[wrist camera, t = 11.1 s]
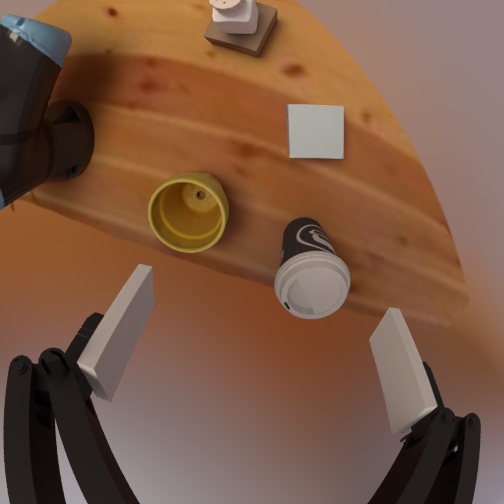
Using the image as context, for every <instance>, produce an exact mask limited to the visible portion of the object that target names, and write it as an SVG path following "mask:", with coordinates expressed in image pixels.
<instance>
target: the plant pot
mask: <svg viewBox="0 0 504 504" xmlns="http://www.w3.org/2000/svg"><path fill="white" fill-rule="evenodd" d="M199 191H201V192H204V193H205V197H204V198H199V197H198V192H199ZM228 215H229V205H228V200H227V197H226V195H225V193H224V191H223V188H222V185H221V183H220V182H219V180H218V179H217V178H216V177H214V176H213V175H211V174H209V173H206V172H197V173H195V172H184V173H180V174H177V175H174V176H172V177H171V178H169V179H168V180H166V181H165V182H164V183H163V184H161V185H160V186H159V187H158V188H157V189H156V191H155V192H154V193H153V195H152V197H151V199H150V202H149V206H148V219H149V223H150V225H151V228H152V230H153V231H154V233H155V234H156V236H157V237H158V238H159V239H160V240H161V241H162V242H163V243H164V244H166V245H167V246H169V247H170V248H172V249H174V250H177V251H180V252H186V253H195V252H201V251H204V250H206V249H208V248H210V247H212V246H213V245H214V244H215V243H217V242H218V240H219V239H220V238H221V236H222V234H223V232H224V230H225V227H226V224H227V220H228Z"/></svg>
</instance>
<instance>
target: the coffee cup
mask: <svg viewBox="0 0 504 504" xmlns="http://www.w3.org/2000/svg"><path fill="white" fill-rule="evenodd" d="M349 288H350V272H349V269H348V267H347V265H346V264H345V263H344V262H343V261H342V260H341V259H340V258H339V257H338V256H337V255H336V253H335V251H334V249H333V247H332V246H331V244H330V242H329V240H328V238H327V237H326V235H325V233H324V231H323V229H322V228H321V226H320V225H319V223H318V222H316V221H315V220H313V219H310V218H298V219H295V220H293V221H292V222H290V223H289V224H288V226H287V227H286V229H285V231H284V237H283V246H282V255H281V263H280V269H279V270H278V272H277V274H276V277H275V280H274V289H275V293H276V295H277V298H278V300H279V301H280V303H281V304H282V305H283V306H284V307H285V308H286V309H287V311H289V312H290V313H291V314H293V315H294V316H297V317H299V318H304V319H318V318H322V317H325V316H328V315H330V314H332V313H333V312H335V311H336V310H338V309H339V308H340V307H341V305H342V304H343V303H344V301H345V299H346V296H347V294H348V291H349Z"/></svg>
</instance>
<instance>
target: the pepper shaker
mask: <svg viewBox="0 0 504 504" xmlns="http://www.w3.org/2000/svg"><path fill="white" fill-rule="evenodd" d="M209 2H210V4H211V5H212V6H213V16H212V18H213V21H214V22H215V23H216V24H217V25H218V26H219V27H220V28H221V29H222V30H223V31H224V32H225V33H236V34H253V33H255V32H256V29H257V21H258V9H257V6H256V3H255V0H209Z"/></svg>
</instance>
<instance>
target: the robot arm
mask: <svg viewBox="0 0 504 504" xmlns="http://www.w3.org/2000/svg"><path fill="white" fill-rule="evenodd" d="M71 43H72V37H71V35H70V33H69V32H67V31H65V30H63V29H60V28H58V27H55V26H52V25H49V24H46V23H42V22H39V21H35V20H32V19H27V18H23V17H19V16H16V15H10V14H7V15H5V16H4V17H3V19H2V20H0V210H2V209H3V208H4V207H5V206H7V205H8V204H10V203H11V202H13V201H14V200H16V199H18V198H19V197H21V196H22V195H24V194H25V193H27V192H29V191H30V190H32V189H34V188H35V187H37V186H39V185H40V184H42V183H51V182H64V181H67V180H70V179H72V178H74V177H75V176H77V175H79V174H80V173H81V172H82V171H83V170H84V169H85V168H86V166H87V164H88V162H89V160H90V158H91V155H92V151H93V145H94V132H93V126H92V122H91V119H90V117H89V115H88V113H87V111H86V110H85V109H84V108H83V107H82V106H81V105H80V104H79V103H77V102H75V101H71V100H64V101H58V102H54V103H52V104H50V105H48V102H49V99H50V96H51V94H52V91H53V88H54V85H55V83H56V80H57V78H58V75H59V73H60V71H61V68H63V66H64V64H63V63H64V60H65V58H66V55H67V53H68V51H69V48H70V46H71ZM47 105H48V106H47ZM153 287H154V286H153V270H152V267H151V266H147V265H142V264H139V265H138V266H137V268H136V269H135V271H134V272H133V274H132V275H131V276H130V278H129V279H128V281H127V282H126V284H125V285H124V287H123V288H122V290H121V291H120V293H119V294H118V296H117V297H116V299H115V300H114V302H113V303H112V305H111V306H110V308H109V309H108V311H107V313H106V314H105V315H102V314H99V313H96V312H95V313H94V314H92V315H91V316H89V317H88V318H87V319H86V321H85V322H84V324H83V325H82V328H80V330H79V331H78V334H77V335H76V336H75V338H74V339H73V341H72V342H71V344H70V346H69V347H68V349H67V351H66V352H65V353H64V352H63V351H62V350H61V349H58V348H49V349H47V350H45V351H44V352H43V353H41V355H40V357H39V361H38V364H33V363H32V362H31V360H30V359H29V358H28V357H27V356H23V355H21V356H17V357H15V358H14V359H13V360H12V361H11V364H10V366H9V372H8V378H7V386H6V395H5V408H4V462H5V474H6V482H7V489H8V495H9V501H10V504H66V502H65V497H64V492H63V487H62V482H61V476H60V471H59V464H58V455H57V445H56V432H55V419H56V423H57V426H58V430H59V433H60V437H61V439H62V443H63V445H64V449H65V452H66V454H67V457H68V460H69V463H70V465H71V468H72V470H73V473H74V475H75V478H76V480H77V482H78V484H79V487H80V489H81V491H82V493H83V495H84V497H85V499H86V501H87V503H88V504H140V503H139V502H138V500H137V498H136V497H135V495H134V493H133V491H132V490H131V488H130V486H129V484H128V483H127V481H126V479H125V477H124V475H123V473H122V471H121V470H120V467H119V466H118V463H117V461H116V459H115V457H114V455H113V453H112V451H111V449H110V446H109V444H108V442H107V439H106V437H105V435H104V432H103V430H102V428H101V425H100V422H99V420H98V417H97V414H96V412H95V409H94V406H93V403H92V400H91V398H90V395H91V393H92V391H93V392H94V393H95V395H96V396H97V397H100V398H102V399H105V400H107V401H110V402H111V400H112V398H113V396H114V393H115V391H116V388H117V386H118V384H119V381H120V379H121V377H122V374H123V372H124V370H125V368H126V365H127V362H128V361H129V359H130V356H131V354H132V352H133V350H134V347H135V345H136V343H137V341H138V339H139V337H140V335H141V333H142V330H143V328H144V326H145V324H146V322H147V320H148V318H149V316H150V314H151V312H152V310H153V308H154V306H155V300H154V288H153ZM369 341H370V344H371V348H372V351H373V355H374V359H375V362H376V366H377V369H378V373H379V377H380V381H381V385H382V389H383V394H384V398H385V402H386V406H387V411H388V415H389V420H390V425H391V430H392V434H397V433H403V432H405V431H406V430H408V429H409V428H411V430H412V432H411V433H409V434H408V435H406V436H405V437H403V438H402V439H401V440H400V442H402V441H404V440H405V439H406V441H405V442H404V443H403V444H404V445H403V447H402V449H401V451H400V453H399V454H398V456H397V458H396V460H395V462H394V463H393V465H392V467H391V469H390V470H389V472H388V474H387V475H386V477H385V478H384V480H383V482H382V483H381V485H380V486H379V488H378V489H377V491H376V492H375V494H374V495H373V497H372V498H371V500H370V501H369V502H368V504H472V501H473V496H474V491H475V485H476V479H477V472H478V463H479V451H480V433H481V431H480V429H481V424H480V419H479V418H478V416H477V415H476V414H474V413H469V414H468V415H467V416H465V417H464V418H463V417H458V416H455V415H454V413H453V411H451V409H449V408H445V407H444V405H443V402H442V399H441V396H440V393H439V390H438V387H437V385H436V382H435V379H434V378H433V377H434V376H433V373H432V371H431V368H430V367H429V366H428V364H427V363H426V362H422V361H421V358H420V356H419V353H418V351H417V348H416V346H415V343H414V341H413V339H412V336H411V334H410V331H409V329H408V327H407V325H406V322H405V320H404V318H403V316H402V313H401V311H400V309H397V308H388V310H387V312H386V314H385V315H384V317H383V318H382V320H381V322H380V323H379V325H378V327H377V328H376V330H375V331H374V333H373V334H372V336H371V338H370V339H369ZM456 446H458V449H457V451H456V452H454V448H455V447H456Z"/></svg>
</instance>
